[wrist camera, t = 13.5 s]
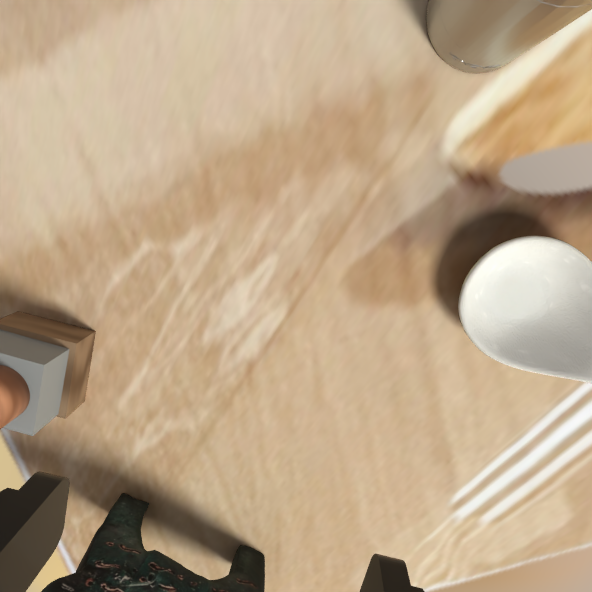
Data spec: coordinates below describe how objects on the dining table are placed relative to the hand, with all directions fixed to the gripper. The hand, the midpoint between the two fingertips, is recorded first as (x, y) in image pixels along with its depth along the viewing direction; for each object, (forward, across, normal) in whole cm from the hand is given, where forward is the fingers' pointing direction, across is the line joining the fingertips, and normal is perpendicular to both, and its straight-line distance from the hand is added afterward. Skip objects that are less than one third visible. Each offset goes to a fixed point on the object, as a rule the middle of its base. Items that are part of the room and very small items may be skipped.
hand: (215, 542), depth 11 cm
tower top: (+29, +22, +14) cm, 39 cm away
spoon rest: (+33, -27, -2) cm, 43 cm away
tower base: (+33, +22, +14) cm, 42 cm away
